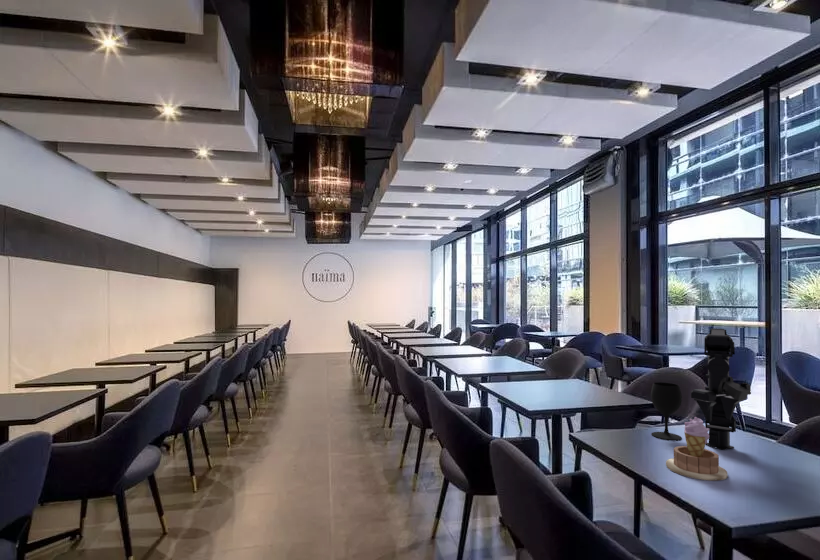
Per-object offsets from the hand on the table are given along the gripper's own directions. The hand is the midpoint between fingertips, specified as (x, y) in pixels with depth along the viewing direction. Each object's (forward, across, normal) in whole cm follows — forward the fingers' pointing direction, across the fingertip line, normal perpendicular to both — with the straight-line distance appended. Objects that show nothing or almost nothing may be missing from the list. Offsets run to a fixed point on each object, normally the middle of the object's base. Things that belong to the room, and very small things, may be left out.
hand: (719, 420), depth 150 cm
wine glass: (+13, +6, +25) cm, 29 cm away
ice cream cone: (+12, -16, -4) cm, 20 cm away
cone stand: (+13, -16, -4) cm, 21 cm away
